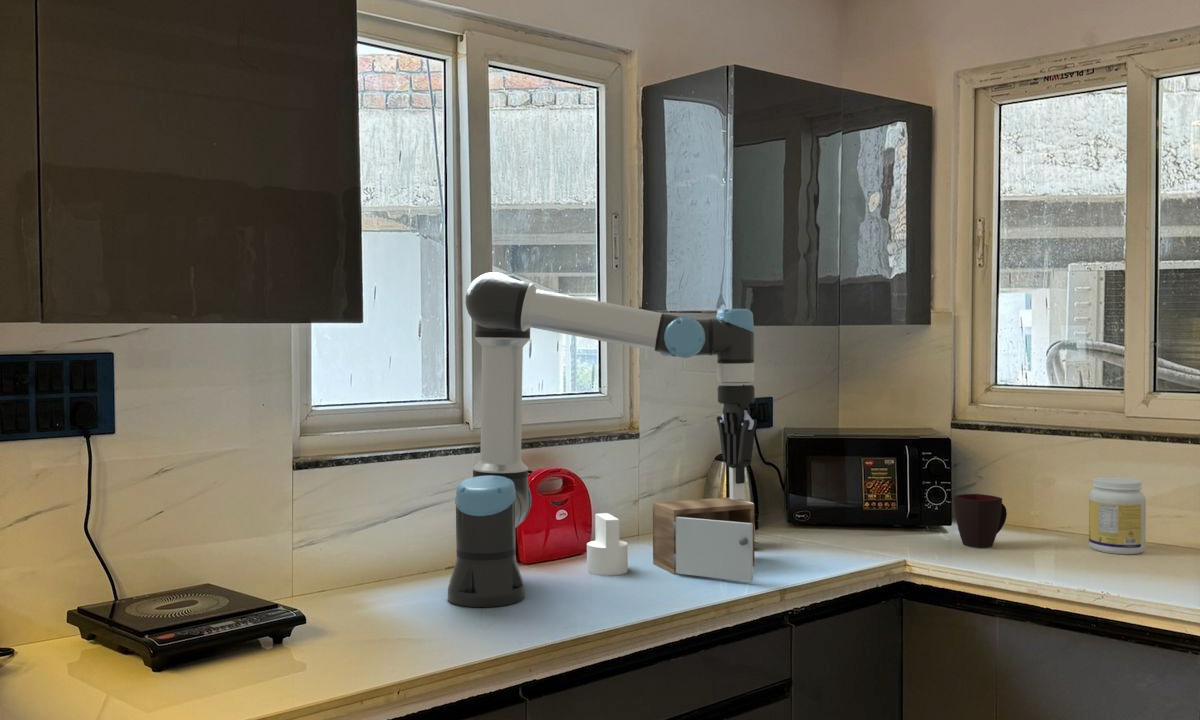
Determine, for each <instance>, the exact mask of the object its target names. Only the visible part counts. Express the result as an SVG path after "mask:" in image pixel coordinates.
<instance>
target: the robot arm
mask: <svg viewBox="0 0 1200 720" xmlns="http://www.w3.org/2000/svg"><path fill="white" fill-rule="evenodd" d="M465 308H466V311H467V313H468V316H469V317H470V318H471V319H472V321H474V339H475V341H477V343H478V344H479V345H480V346H481V349H482V350H481V385H480V386H481V394H480V395H481V396H480V398H481V399H480V400H481V401H480V458H479V459H480V460H479V461H478V463H476V465H474V467H472V477H469V478H466V479H464V480H462V481H461V482H459V483H458V485H457V486H456V490H455V493H456V494H455V497H454V501H455V502H454V503H455V539H456V541H455V543H456V544H455V545H456V547H455V548H456V561H455V564H454V566H453V570H452V573H451V576H450V580H449V583H448V587H447V601H448V602H450V603H452V604H454V605H457V606H461V607H471V608H472V607H473V608H474V607H475V608H492V607H500V606H501V607H503V606H506V605H507V606H508V605H512V604H515V603H518V602H520V601H523V599H525V596H526V595H525V592H526V591H525V589H526V588H525V582H524V580H523V577H522V574H521V571H520V568H519V564H518V562H517V558H516V528H517V527H519V526H521V524H522V523H523V522H524V521H525V520H526V518H527V517H528V515H529V513H530V510H531V507H532V494H531V489H530V486H529V467H528V466H527V465H526V464H525V463H524V462H523V461H522V430H523V428H522V427H523V426H522V425H523V424H522V422H523V420H522V419H523V418H522V417H523V416H522V415H523V414H522V412H523V411H522V410H523V366H524V365H523V363H524V361H523V360H524V359H523V358H524V357H523V354H524V353H523V352H524V346H525V345H526V344H527V343H528V342H529V341H531V328H532V329H538V330H543V331H548V332H553V333H554V332H555V333H557V334H564V335H569V336H574V337H578V338H579V337H580V338H586V339H588V340H589V339H590V340H596V341H600V342H601V341H602V342H606V343H612V344H616V345H621V346H628V347H633V348H638V349H642V350H648V351H653V352H657V353H660V354H661V355H662V356H664V357H665V356H666V357H667V356H669V357H679V358H686V359H687V358H691V357H693V356H694V357H695V356H697V357H698V356H716V358H717V359H716V362H717V363H716V364H717V365H716V371H717V373H716V375H717V377H716V378H717V379H716V380H717V382H718V383H720V384H719V385H718V386H717V402H718V403H719V404H721V405H723V409H722V415H718V416H716V422H717V426H718V432H719V440H720V446H721V455H722V462H723V463H726V464H727V467H728V469H729V470H728V471H729V472H728V473H729V474H728V475H729V482H728V483H729V484H728V485H729V497H730V499H732V500H737V499H738V500H745V498H746V492H745V490H746V488H745V479H746V478H745V476H746V475H745V471H746V470H745V469H746V467H748V466H751V464H752V458H753V451H754V450H753V448H754V440H755V431H756V428H757V425H758V420H757V419H756V418H755V419H752V417H751V410H750V404H753V403H754V402H755V399H756V398H755V397H756V395H755V393H756V392H755V386H754V385H753V384H752V383H754V382H755V371H756V369H755V328H754V327H755V325H754V324H755V323H754V314H753V312H752V310H750V309H748V308H723V309H722V308H721V309H718V310H717V312H716V315H715V318H708V319H707V318H706V319H703V318H702V319H701V318H699V319H697V318H696V319H695V318H693V317H689V316H679V315H675V314H674V315H673V314H668V313H662V312H658V311H653V310H647V309H642V308H638V307H632V306H626V305H623V304H622V305H621V304H615V303H610V302H605V301H600V300H596V299H595V300H594V299H590V298H585V297H577V296H573V295H570V294H569V295H568V294H563V293H557V292H552V291H549V290H548V291H547V290H543V289H538V288H537V287H536V285H535V284H534V283H532V282H526V281H523V280H522V279H520V278H518V277H516V276H513V275H508V274H505V273H503V272H498V271H497V272H495V271H494V272H493V271H492V272H485V273H484V274H481V275H479V276H478V277H476V278H475V279H473V280H472V282H471V283H470V285H469V287H468V288H467V291H466V294H465Z"/></svg>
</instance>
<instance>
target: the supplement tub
mask: <svg viewBox="0 0 1200 720" xmlns="http://www.w3.org/2000/svg"><path fill="white" fill-rule="evenodd" d="M1092 482H1093V483H1092V487H1093V489H1091V491H1090V492H1089V495H1088V501H1089V502H1088V544H1089V547H1090V548H1091V549H1092V550H1095V551H1097V552H1102V553H1106V554H1111V555H1112V554H1113V555H1137V554H1142V553H1143V552H1144V551H1145V550H1146V513H1147V512H1146V511H1147V510H1146V503H1147V502H1146V495H1145V494H1144V493H1143V492H1142V491H1141V490H1142V489H1143V486H1142V480H1140V479H1135V478H1129V477H1115V476H1114V477H1113V476H1112V477H1110V476H1109V477H1108V476H1106V477H1105V476H1104V477H1103V476H1102V477H1095V478H1093V481H1092Z"/></svg>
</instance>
